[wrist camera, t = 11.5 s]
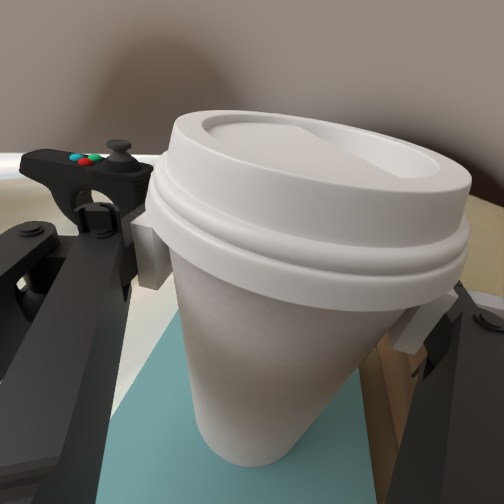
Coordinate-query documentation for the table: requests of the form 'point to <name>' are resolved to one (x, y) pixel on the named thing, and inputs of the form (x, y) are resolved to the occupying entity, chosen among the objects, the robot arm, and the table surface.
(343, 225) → the coffee cup
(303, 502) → the pad
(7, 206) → the table surface
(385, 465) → the table surface
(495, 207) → the table surface
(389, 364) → the cup holder
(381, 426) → the table surface
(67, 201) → the controller
